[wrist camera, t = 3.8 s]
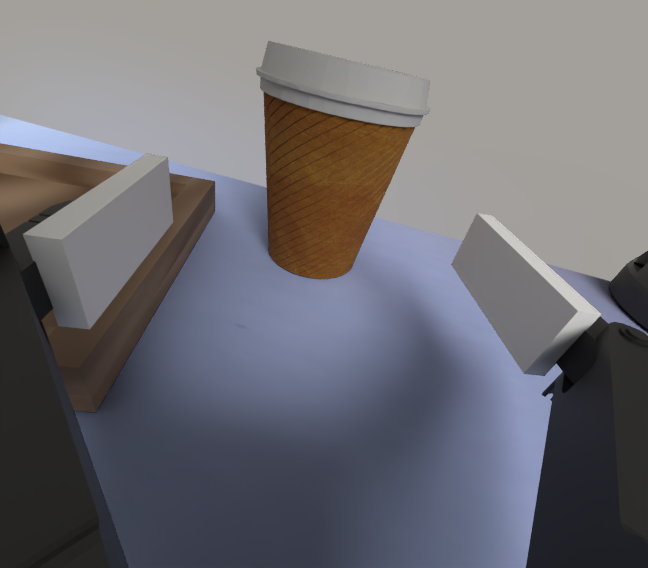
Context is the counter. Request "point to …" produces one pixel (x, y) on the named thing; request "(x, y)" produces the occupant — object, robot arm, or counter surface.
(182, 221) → the tray
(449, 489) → the counter surface
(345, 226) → the disposable coffee cup
